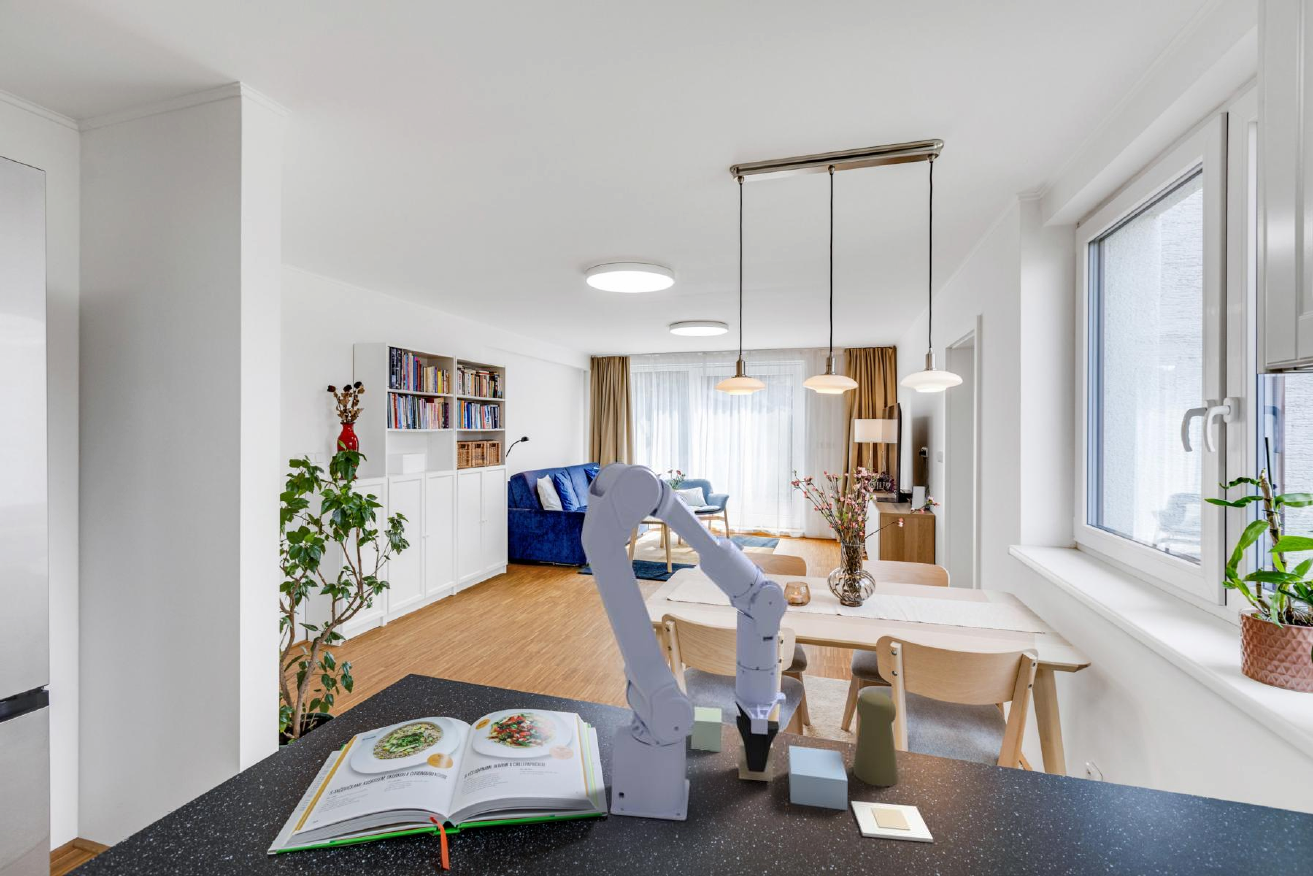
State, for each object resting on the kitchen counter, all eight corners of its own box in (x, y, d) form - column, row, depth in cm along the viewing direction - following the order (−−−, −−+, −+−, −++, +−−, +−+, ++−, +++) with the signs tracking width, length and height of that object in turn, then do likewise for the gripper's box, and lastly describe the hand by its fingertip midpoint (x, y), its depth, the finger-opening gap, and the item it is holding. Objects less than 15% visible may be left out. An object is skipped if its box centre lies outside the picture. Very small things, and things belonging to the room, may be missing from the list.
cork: (903, 789, 77) (904, 708, 77) (856, 783, 78) (857, 703, 78) (893, 764, 83) (894, 689, 83) (850, 759, 84) (851, 685, 84)
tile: (862, 835, 67) (862, 831, 67) (851, 804, 73) (851, 800, 73) (933, 842, 66) (933, 838, 66) (915, 809, 72) (915, 805, 72)
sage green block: (691, 750, 86) (691, 720, 86) (692, 735, 90) (693, 706, 90) (721, 752, 85) (721, 722, 85) (721, 737, 90) (721, 708, 90)
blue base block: (790, 804, 73) (791, 773, 74) (788, 773, 80) (789, 745, 80) (847, 812, 72) (847, 780, 72) (840, 780, 79) (840, 751, 79)
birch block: (739, 778, 77) (739, 745, 77) (738, 760, 82) (738, 728, 82) (772, 781, 77) (773, 747, 77) (769, 762, 81) (770, 731, 81)
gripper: (792, 686, 72) (790, 794, 71) (780, 645, 86) (779, 735, 86) (736, 682, 72) (734, 789, 72) (733, 643, 87) (732, 732, 87)
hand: (755, 760), depth 79 cm, fingers closed on birch block, 4 cm apart
